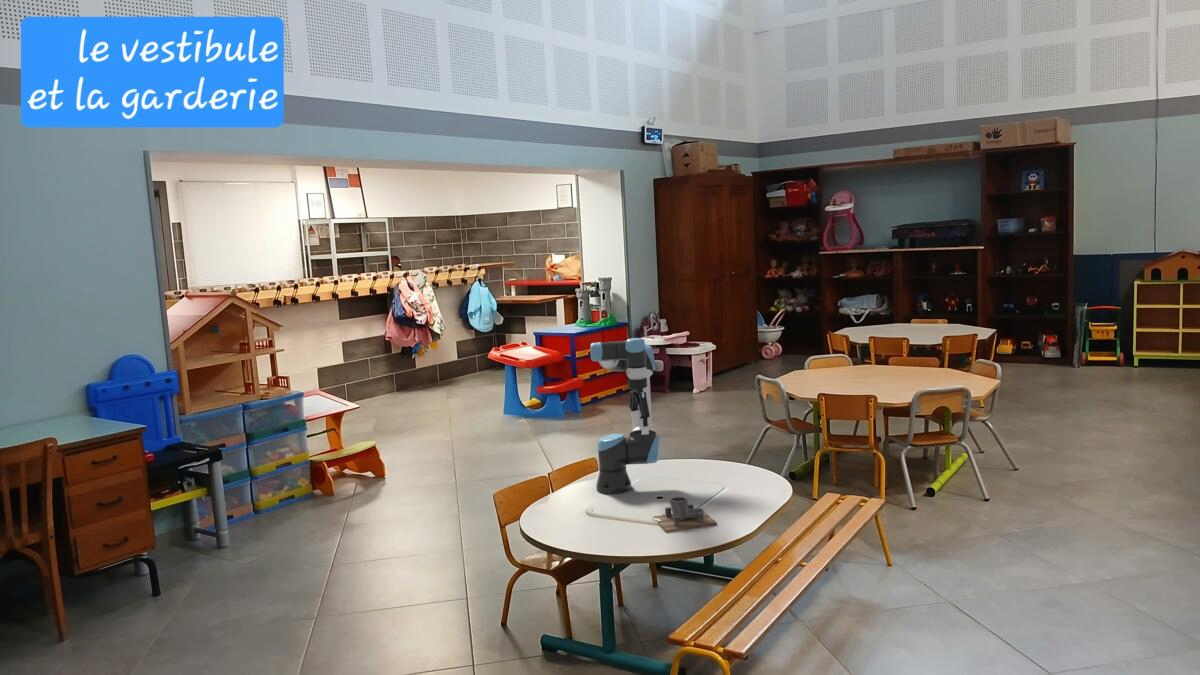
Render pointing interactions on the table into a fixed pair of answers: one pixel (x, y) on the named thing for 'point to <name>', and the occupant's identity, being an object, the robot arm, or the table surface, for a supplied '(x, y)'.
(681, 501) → the pipe
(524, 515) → the table surface
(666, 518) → the collar cradle
